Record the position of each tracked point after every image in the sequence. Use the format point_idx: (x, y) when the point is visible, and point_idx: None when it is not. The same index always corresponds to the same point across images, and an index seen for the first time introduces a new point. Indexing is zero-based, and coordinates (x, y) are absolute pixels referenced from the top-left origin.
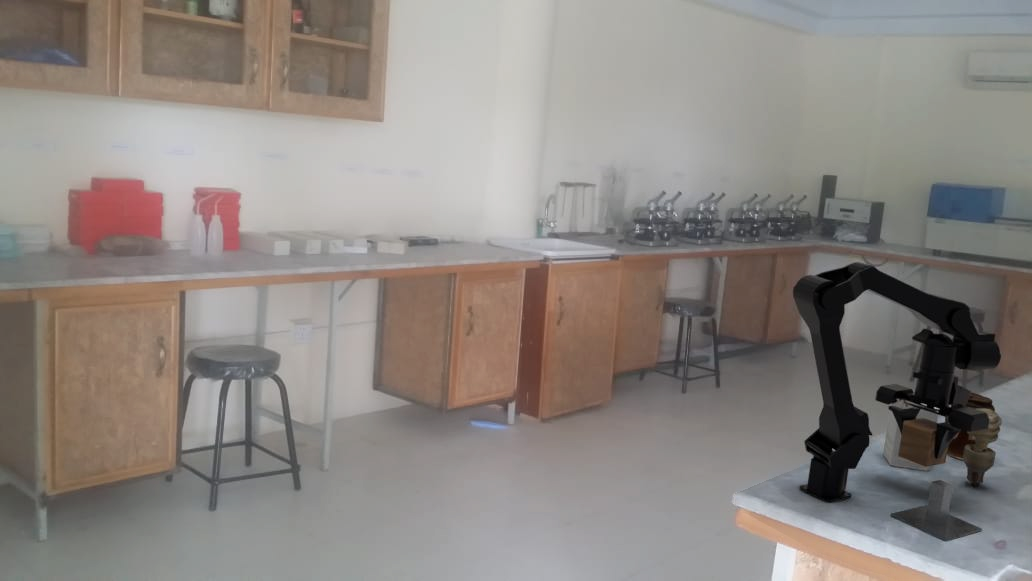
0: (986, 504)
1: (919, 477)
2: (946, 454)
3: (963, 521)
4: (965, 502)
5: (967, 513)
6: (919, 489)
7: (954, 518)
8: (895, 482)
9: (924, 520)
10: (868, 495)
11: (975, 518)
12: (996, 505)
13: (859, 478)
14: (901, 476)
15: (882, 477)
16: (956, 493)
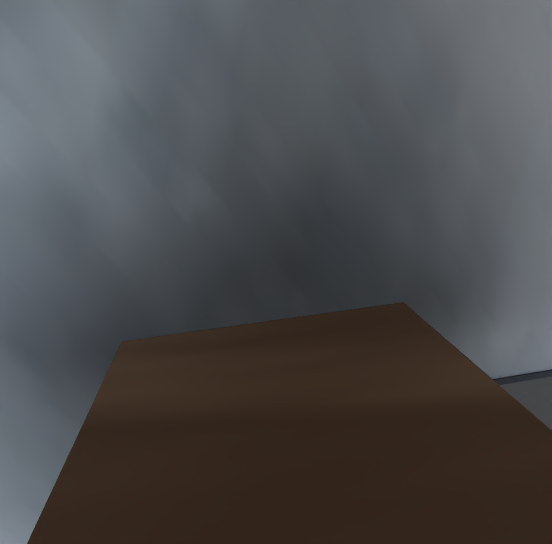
0: (486, 55)
1: (65, 91)
2: (444, 342)
3: (548, 383)
4: (423, 158)
5: (498, 271)
6: (224, 262)
7: (517, 397)
8: (114, 316)
9: None
10: None
11: (540, 282)
12: (519, 3)
13: (35, 457)
14: (34, 205)
15: (36, 333)
16: (326, 87)
